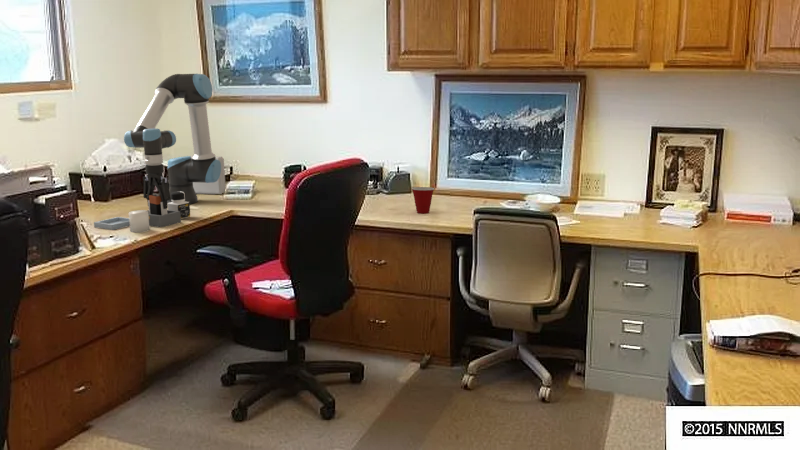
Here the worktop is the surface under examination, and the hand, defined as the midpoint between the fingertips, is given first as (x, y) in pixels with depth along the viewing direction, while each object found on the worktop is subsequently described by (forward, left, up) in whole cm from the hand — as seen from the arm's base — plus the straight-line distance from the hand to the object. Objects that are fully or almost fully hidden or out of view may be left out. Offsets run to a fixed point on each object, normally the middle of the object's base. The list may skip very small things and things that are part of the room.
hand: (158, 214), depth 338 cm
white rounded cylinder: (+14, +4, -4) cm, 15 cm away
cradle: (0, 0, -4) cm, 4 cm away
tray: (+13, -13, -4) cm, 19 cm away
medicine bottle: (-13, -1, -4) cm, 14 cm away
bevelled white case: (-65, -36, -4) cm, 74 cm away
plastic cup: (-76, +93, -4) cm, 120 cm away
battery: (0, 0, 0) cm, 0 cm away
